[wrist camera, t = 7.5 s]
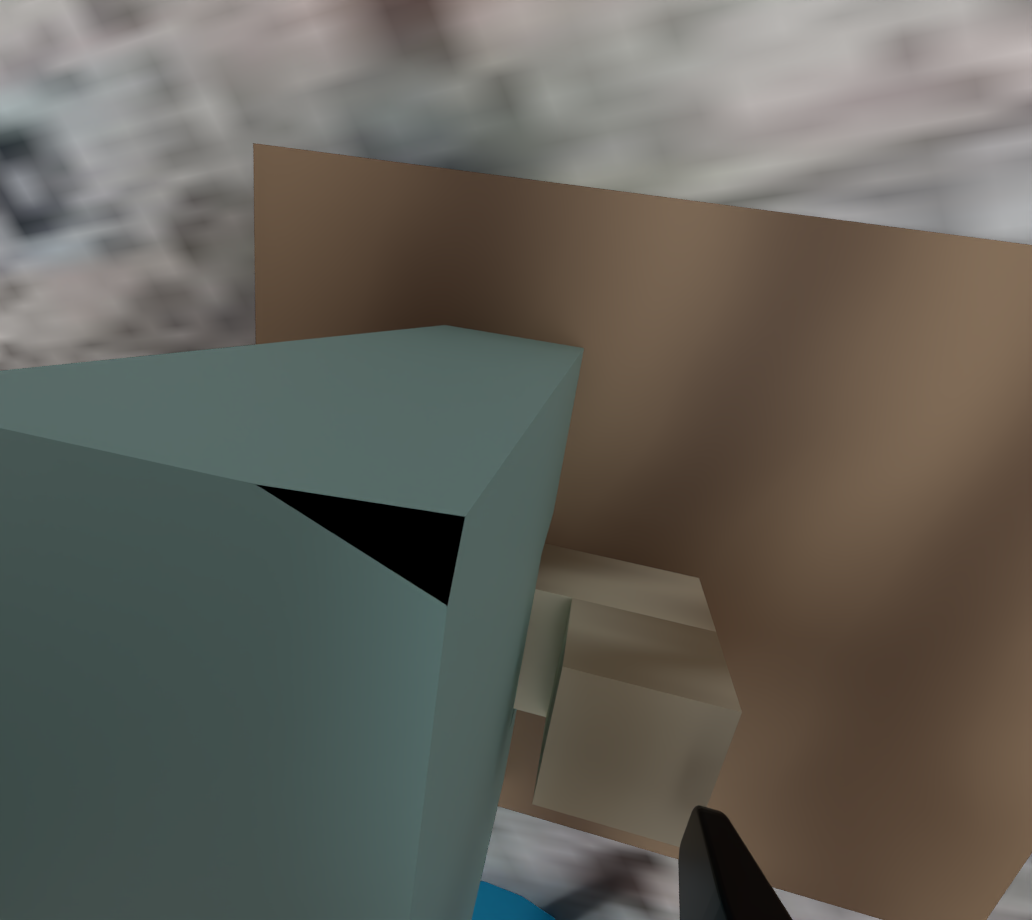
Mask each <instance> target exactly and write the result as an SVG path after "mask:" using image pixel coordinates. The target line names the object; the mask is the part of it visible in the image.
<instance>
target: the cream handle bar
mask: <svg viewBox="0 0 1032 920" xmlns="http://www.w3.org/2000/svg"><path fill="white" fill-rule="evenodd" d="M391 570H392V571H393V572H395V573H396V574H398V575H399V576H401V577H403V578H404V579H406V580H407V581H409V582H410V583H412V584H414V585H415V586H417V587H418V588H420V589H422V590H423V591H425V592H426V593H428V594H429V595H431V596H433V597H434V598H436V599H437V600H439V601H440V602H442V603H444V604H445V605H447V606H448V601H449V596H450V591H451V586H452V581H453V576H454V571H455V570H453V569H448V568H444V567H440V566H436V565H431V564H427V563H423V562H419V561H414V560H410V559H406V558H402V557H398V556H393V555H392V563H391ZM514 709H517V710H521V711H525V712H529V713H532V714H536V715H540V716H543V717H546V722H545V728H544V734H543V740H542V747H541V753H540V759H539V765H538V771H537V778H536V784H535V790H534V796H533V802H532V804H533V805H537V806H540V807H544V808H547V809H550V810H554V811H557V812H561V813H564V814H568V815H571V816H574V817H578V818H581V819H585V820H588V821H592V822H595V823H598V824H602V825H605V826H609V827H612V828H616V829H619V830H622V831H626V832H629V833H633V834H636V835H640V836H643V837H646V838H650V839H653V840H657V841H660V842H664V843H667V844H670V845H674V846H677V847H680V843H681V840H682V837H683V834H684V832H685V829H686V826H687V823H688V820H689V818H690V815H691V812H692V810H693V808H694V807H695V806H697V805H701V806H704V807H707V805H708V802H709V799H710V797H711V794H712V791H713V789H714V786H715V783H716V781H717V778H718V775H719V773H720V770H721V767H722V765H723V762H724V759H725V757H726V754H727V751H728V748H729V746H730V743H731V740H732V738H733V735H734V732H735V730H736V727H737V724H738V722H739V719H740V716H741V714H742V711H741V707H740V704H739V701H738V698H737V695H736V692H735V689H734V686H733V683H732V679H731V676H730V673H729V670H728V667H727V664H726V661H725V658H724V654H723V651H722V648H721V645H720V642H719V639H718V636H717V633H716V629H715V626H714V623H713V620H712V617H711V614H710V611H709V608H708V604H707V601H706V598H705V595H704V592H703V589H702V586H701V583H700V580H699V578H697V577H692V576H688V575H683V574H679V573H674V572H670V571H665V570H661V569H656V568H652V567H647V566H643V565H639V564H634V563H630V562H625V561H621V560H616V559H612V558H607V557H603V556H598V555H594V554H589V553H585V552H581V551H576V550H572V549H567V548H563V547H558V546H554V545H549V544H544V547H543V551H542V555H541V560H540V566H539V571H538V577H537V582H536V588H535V593H534V599H533V604H532V609H531V615H530V620H529V626H528V631H527V637H526V642H525V648H524V653H523V659H522V664H521V670H520V675H519V680H518V686H517V691H516V697H515V702H514Z"/></svg>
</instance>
